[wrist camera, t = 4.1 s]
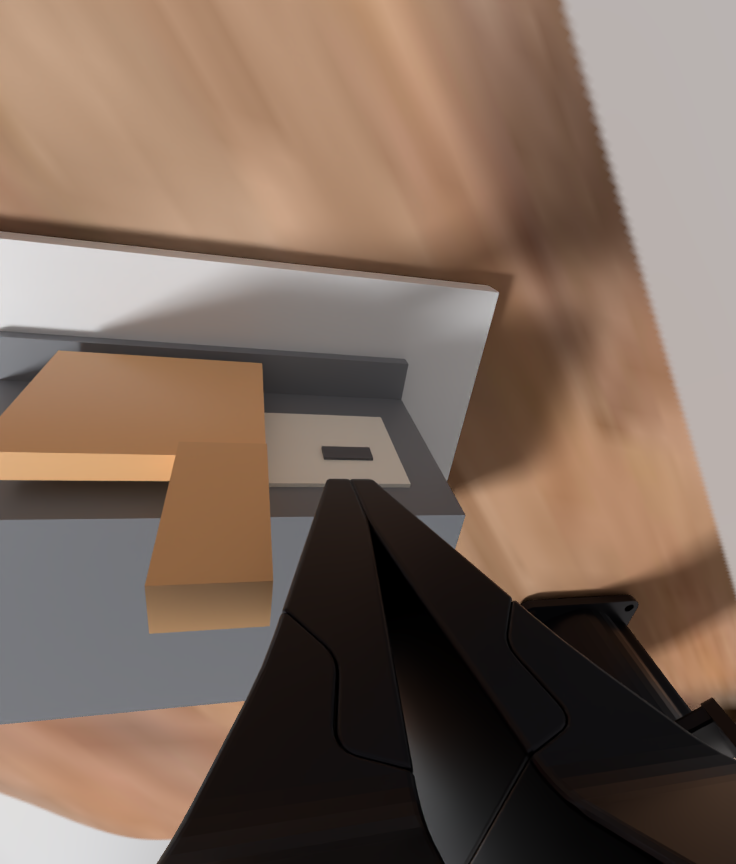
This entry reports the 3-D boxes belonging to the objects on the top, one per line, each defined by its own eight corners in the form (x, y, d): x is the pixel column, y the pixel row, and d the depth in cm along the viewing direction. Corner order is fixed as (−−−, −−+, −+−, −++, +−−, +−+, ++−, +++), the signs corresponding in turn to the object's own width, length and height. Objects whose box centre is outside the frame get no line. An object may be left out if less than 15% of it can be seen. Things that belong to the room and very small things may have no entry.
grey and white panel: (488, 285, 16) (625, 375, 10) (409, 584, 22) (465, 744, 16) (-244, 204, 11) (-759, 280, 6) (-79, 606, 18) (-239, 836, 12)
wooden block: (262, 352, 14) (273, 581, 7) (261, 382, 14) (269, 626, 7) (56, 338, 12) (-190, 599, 5) (61, 372, 13) (-160, 653, 6)
